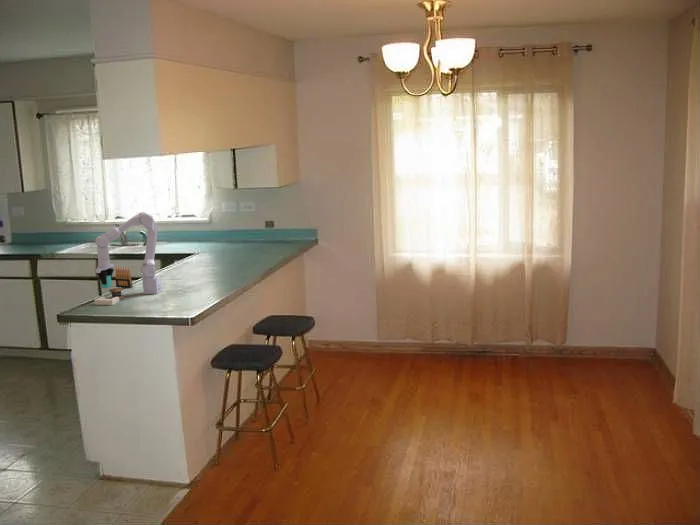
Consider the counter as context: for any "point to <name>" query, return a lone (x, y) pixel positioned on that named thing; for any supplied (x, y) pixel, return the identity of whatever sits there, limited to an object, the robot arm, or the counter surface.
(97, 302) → the notched board
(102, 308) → the counter surface
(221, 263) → the counter surface
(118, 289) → the bobbin
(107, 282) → the tab peg
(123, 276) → the ammunition clip
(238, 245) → the counter surface
